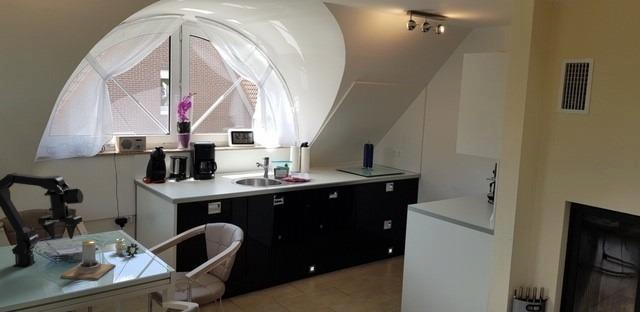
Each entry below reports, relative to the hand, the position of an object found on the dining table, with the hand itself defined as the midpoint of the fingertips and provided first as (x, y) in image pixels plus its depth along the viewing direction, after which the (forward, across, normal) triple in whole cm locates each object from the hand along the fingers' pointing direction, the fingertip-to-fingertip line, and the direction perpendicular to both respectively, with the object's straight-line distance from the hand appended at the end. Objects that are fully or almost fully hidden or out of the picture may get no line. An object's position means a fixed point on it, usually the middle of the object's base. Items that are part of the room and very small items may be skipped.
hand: (62, 238), depth 225 cm
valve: (+15, -15, -22) cm, 31 cm away
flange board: (+14, -15, +3) cm, 20 cm away
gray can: (+13, -14, +3) cm, 20 cm away
